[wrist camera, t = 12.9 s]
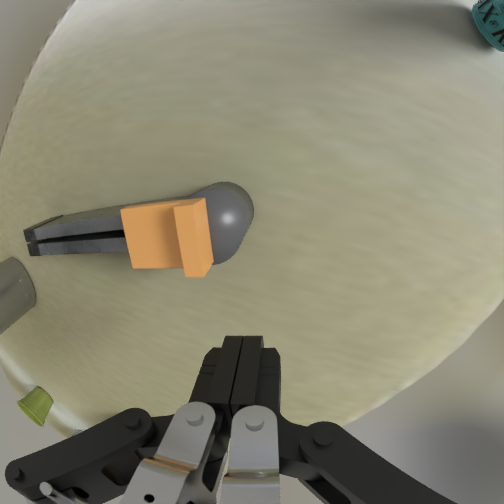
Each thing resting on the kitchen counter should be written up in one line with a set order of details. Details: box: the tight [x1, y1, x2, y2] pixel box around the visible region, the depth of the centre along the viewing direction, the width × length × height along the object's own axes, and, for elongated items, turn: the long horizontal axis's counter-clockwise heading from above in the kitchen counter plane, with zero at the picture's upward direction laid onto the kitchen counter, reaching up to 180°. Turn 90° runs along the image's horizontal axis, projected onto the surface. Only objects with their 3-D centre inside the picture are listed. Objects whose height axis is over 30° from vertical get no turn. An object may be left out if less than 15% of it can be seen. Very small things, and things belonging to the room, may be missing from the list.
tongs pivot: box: [184, 182, 254, 265], centre depth 21 cm, size 5×5×6 cm
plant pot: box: [17, 386, 53, 427], centre depth 42 cm, size 9×9×9 cm
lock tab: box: [120, 198, 214, 277], centre depth 17 cm, size 6×4×2 cm
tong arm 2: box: [27, 229, 129, 256], centre depth 23 cm, size 19×1×5 cm, turn 94°
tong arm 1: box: [23, 196, 189, 242], centre depth 22 cm, size 19×1×5 cm, turn 95°
